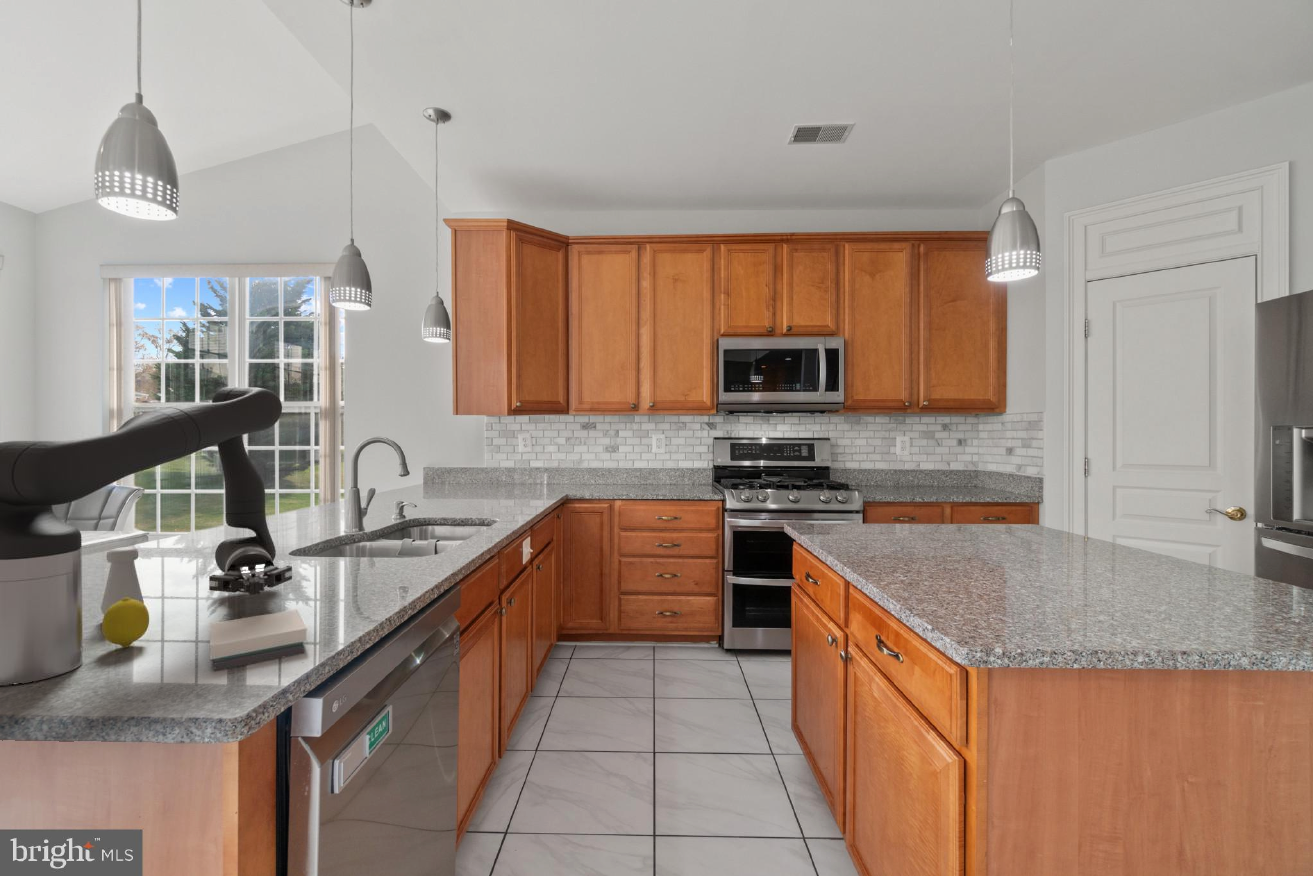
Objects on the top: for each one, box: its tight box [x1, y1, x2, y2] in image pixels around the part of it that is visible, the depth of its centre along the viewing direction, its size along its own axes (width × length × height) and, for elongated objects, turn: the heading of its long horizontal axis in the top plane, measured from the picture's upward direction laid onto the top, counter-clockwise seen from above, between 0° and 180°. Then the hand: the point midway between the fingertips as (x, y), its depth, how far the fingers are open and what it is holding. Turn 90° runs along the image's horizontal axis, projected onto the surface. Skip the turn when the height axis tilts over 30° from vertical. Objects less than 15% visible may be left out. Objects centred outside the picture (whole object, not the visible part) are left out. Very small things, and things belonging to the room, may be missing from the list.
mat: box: [214, 643, 305, 672], centre depth 90 cm, size 11×11×1 cm
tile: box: [209, 609, 308, 662], centre depth 91 cm, size 12×2×12 cm
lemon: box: [101, 597, 150, 648], centre depth 91 cm, size 6×6×8 cm
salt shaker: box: [100, 546, 145, 616], centre depth 104 cm, size 6×6×13 cm
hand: (254, 588), depth 96 cm, fingers closed
